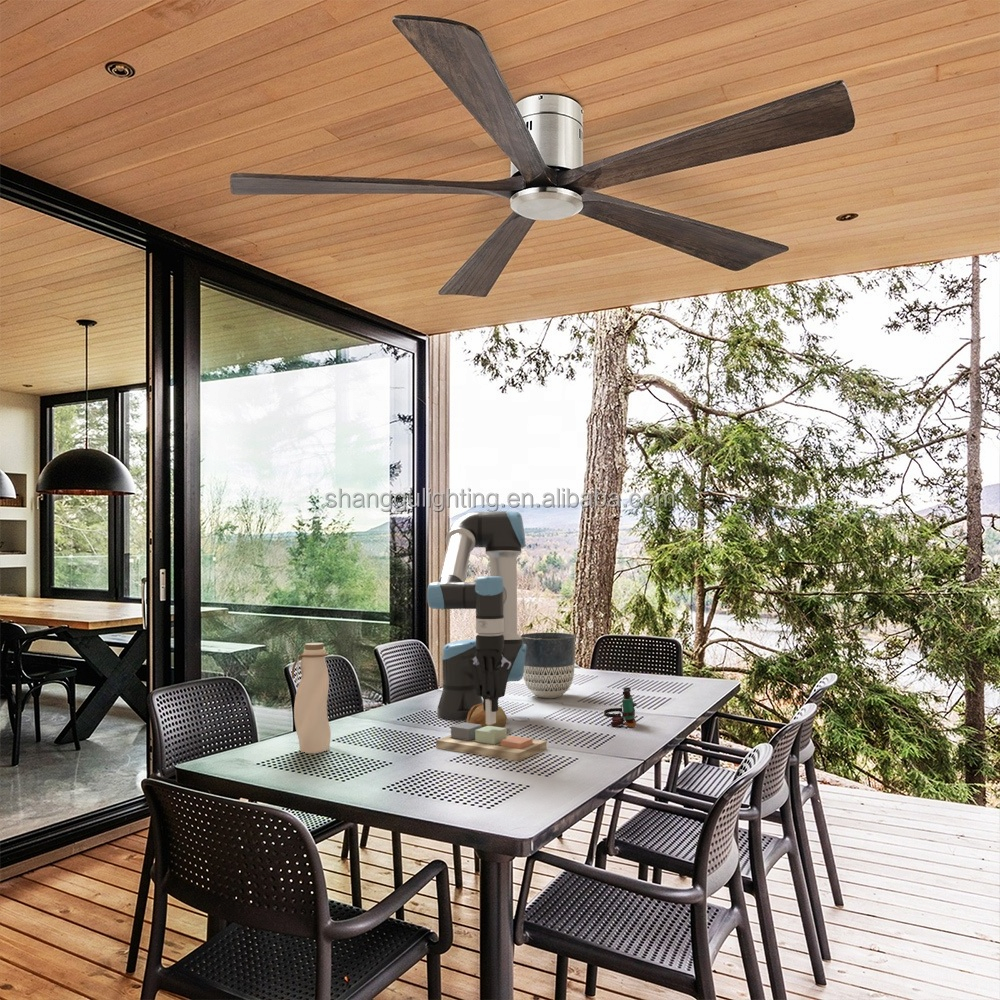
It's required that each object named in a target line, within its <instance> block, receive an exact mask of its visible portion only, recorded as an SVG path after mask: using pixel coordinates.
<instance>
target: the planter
mask: <svg viewBox="0 0 1000 1000" xmlns="http://www.w3.org/2000/svg"><path fill="white" fill-rule="evenodd" d="M519 636H520V637H521V638H522V644H526V646H527V649H526V660H525V667H524V673H523V677H522V678H523V681H524V683H525V685H526V688H527V689H528V690H529V691H530V693H532V694H533V695H534V696H537V697H538V698H542V699H555V698H558V697H561V696H562V695H564V694H565V693H566V692H567V691H568V690H569V689H570V687H571V685H572V684H573V679H574V676H575V662H576V635H575V634H572V633H567V632H531V633H524V634H520V635H519Z"/></svg>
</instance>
